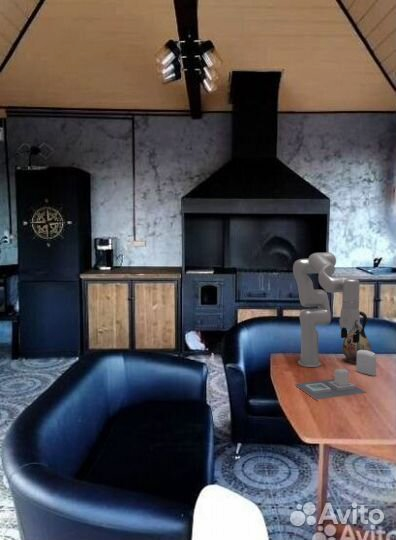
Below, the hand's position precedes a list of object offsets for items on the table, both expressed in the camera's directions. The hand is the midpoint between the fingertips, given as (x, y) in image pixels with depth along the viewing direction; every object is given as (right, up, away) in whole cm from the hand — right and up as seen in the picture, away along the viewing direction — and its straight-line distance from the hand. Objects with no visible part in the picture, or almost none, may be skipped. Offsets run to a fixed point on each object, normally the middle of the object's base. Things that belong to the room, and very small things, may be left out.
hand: (349, 340), depth 207 cm
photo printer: (+16, -22, +22) cm, 35 cm away
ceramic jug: (+19, -20, +42) cm, 50 cm away
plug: (-4, -23, +1) cm, 23 cm away
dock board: (-10, -24, -1) cm, 26 cm away
